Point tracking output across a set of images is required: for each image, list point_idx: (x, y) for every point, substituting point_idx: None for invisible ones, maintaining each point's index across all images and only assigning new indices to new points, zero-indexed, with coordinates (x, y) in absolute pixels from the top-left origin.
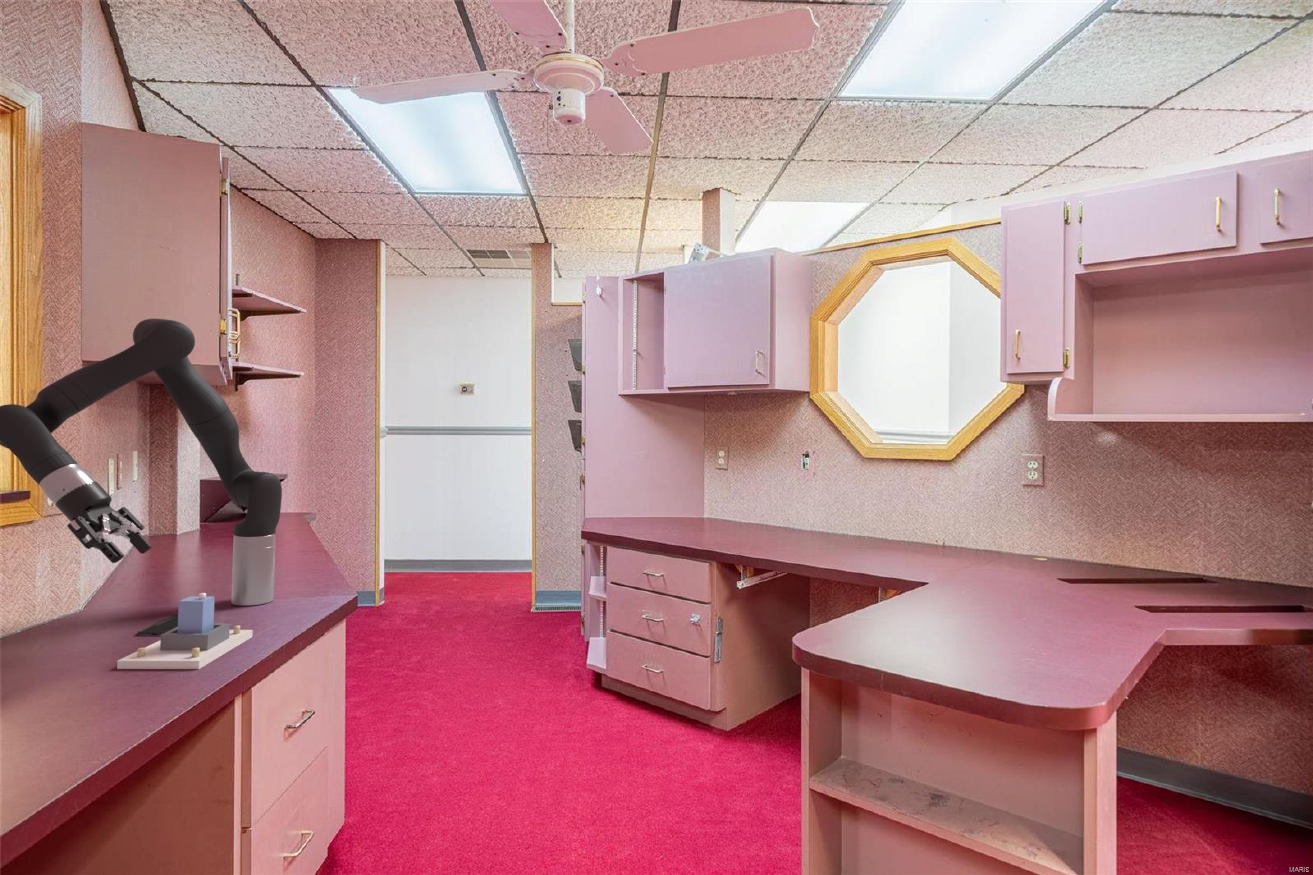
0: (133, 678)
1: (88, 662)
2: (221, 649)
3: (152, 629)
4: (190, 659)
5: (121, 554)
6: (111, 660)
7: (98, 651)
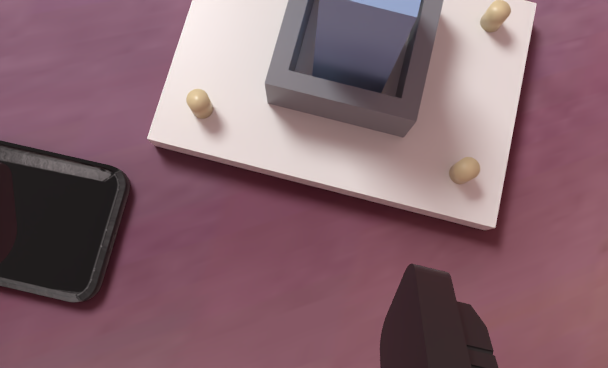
0: (578, 158)
1: None
2: None
3: (56, 261)
4: (518, 28)
5: (440, 279)
6: (389, 278)
7: (273, 358)
